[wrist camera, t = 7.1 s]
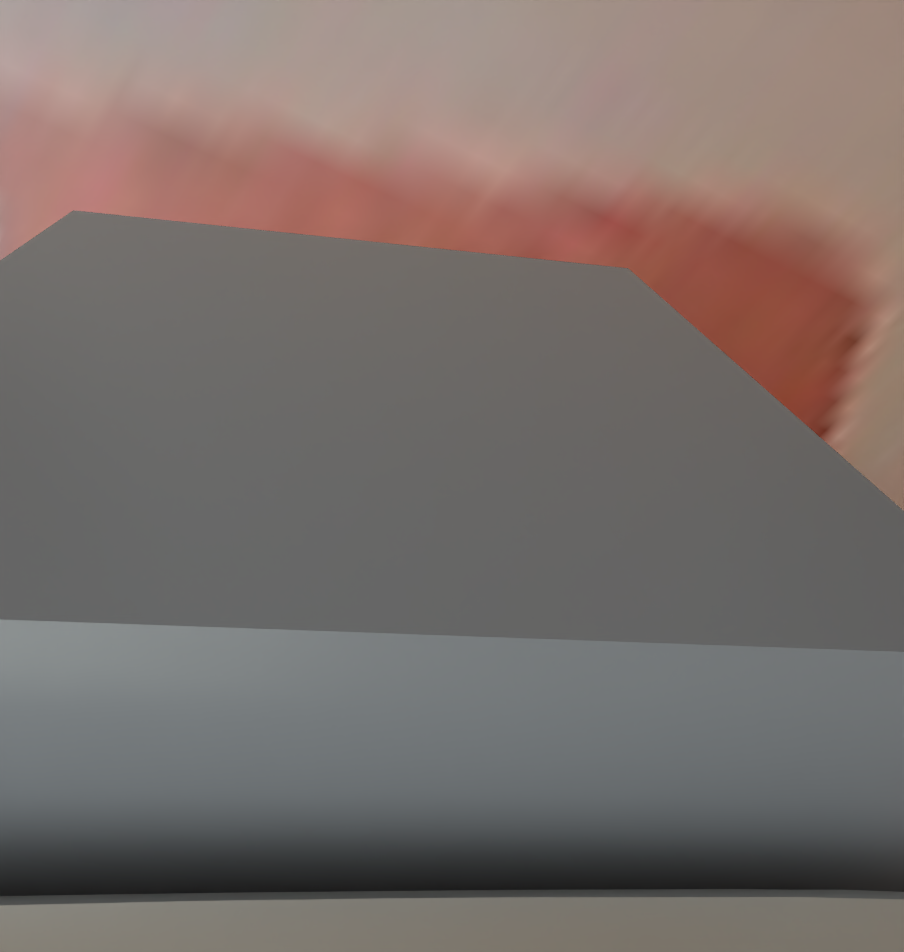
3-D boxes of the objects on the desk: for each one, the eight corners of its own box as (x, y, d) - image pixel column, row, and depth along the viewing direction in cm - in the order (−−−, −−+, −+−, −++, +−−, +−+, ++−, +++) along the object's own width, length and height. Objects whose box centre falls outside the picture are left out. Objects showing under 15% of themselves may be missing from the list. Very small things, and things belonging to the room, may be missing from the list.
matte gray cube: (73, 210, 11) (-498, 601, 4) (628, 268, 13) (1069, 657, 5) (104, 666, 15) (-158, 1361, 7) (538, 679, 16) (714, 1288, 8)
